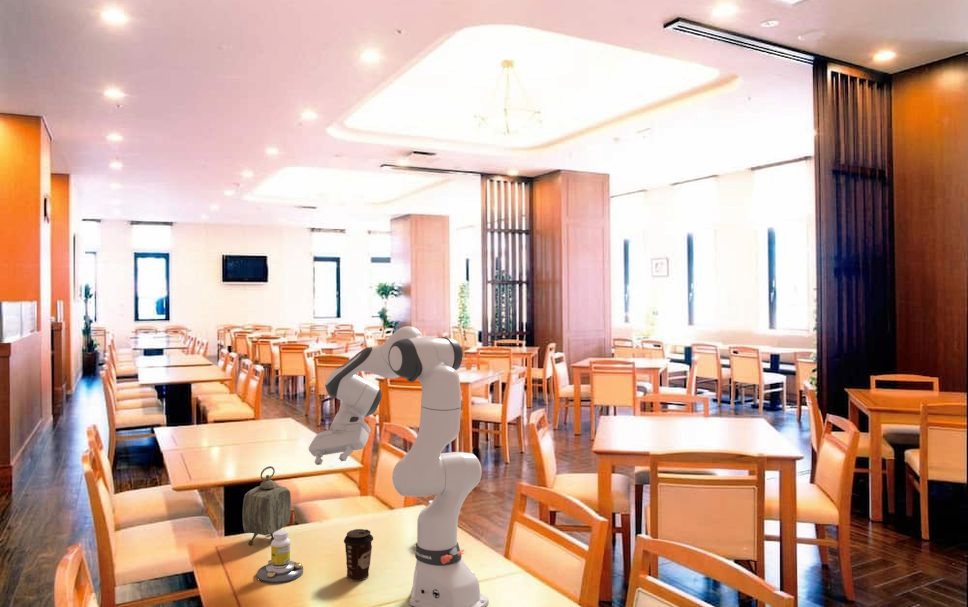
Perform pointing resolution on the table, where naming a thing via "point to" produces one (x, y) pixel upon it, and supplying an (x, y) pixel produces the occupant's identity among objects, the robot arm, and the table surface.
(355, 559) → the coffee cup
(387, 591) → the table surface
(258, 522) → the tabletop clock
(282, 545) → the supplement bottle
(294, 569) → the stand
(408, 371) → the robot arm
